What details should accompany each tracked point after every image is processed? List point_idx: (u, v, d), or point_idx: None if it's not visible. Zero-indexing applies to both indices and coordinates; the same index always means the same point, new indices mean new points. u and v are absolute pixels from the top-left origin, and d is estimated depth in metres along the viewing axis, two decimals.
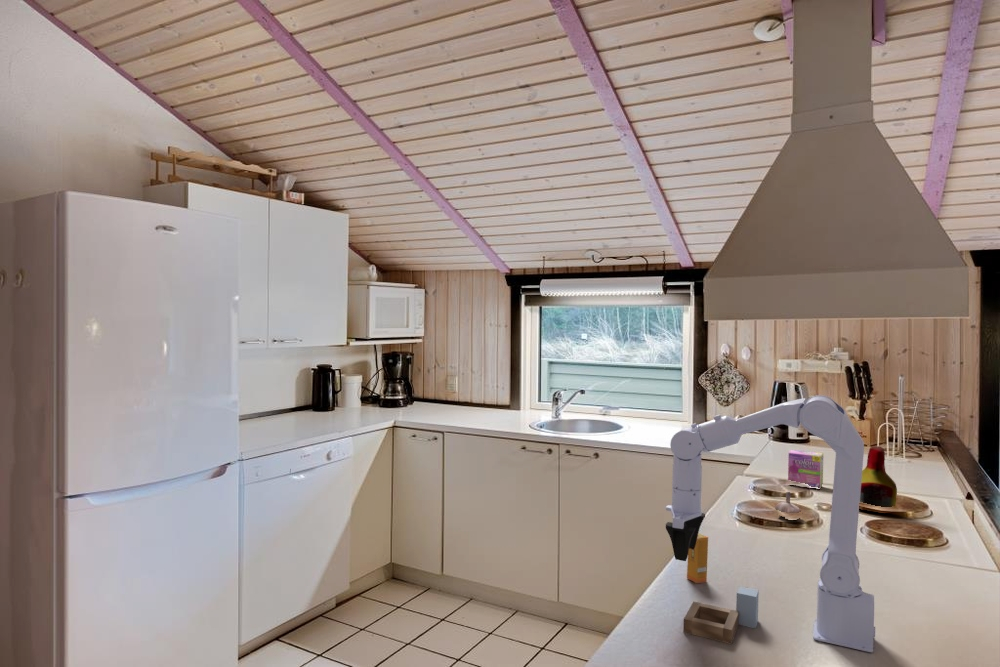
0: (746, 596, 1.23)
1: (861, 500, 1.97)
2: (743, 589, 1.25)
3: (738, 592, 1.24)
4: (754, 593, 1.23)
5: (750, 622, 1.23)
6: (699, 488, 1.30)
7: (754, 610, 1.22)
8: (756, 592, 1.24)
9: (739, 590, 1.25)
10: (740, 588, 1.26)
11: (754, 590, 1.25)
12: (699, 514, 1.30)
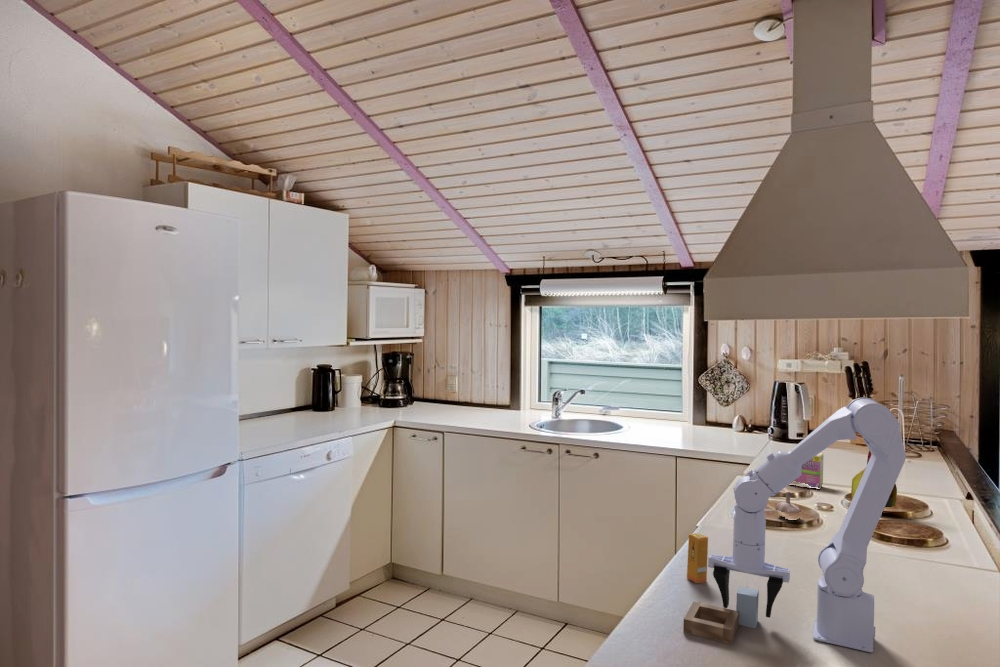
0: (746, 596, 1.23)
1: None
2: (743, 589, 1.25)
3: (738, 592, 1.24)
4: (754, 593, 1.23)
5: (750, 622, 1.23)
6: (764, 541, 1.23)
7: (754, 610, 1.22)
8: (756, 592, 1.24)
9: (739, 590, 1.25)
10: (740, 588, 1.26)
11: (754, 590, 1.25)
12: (740, 569, 1.22)
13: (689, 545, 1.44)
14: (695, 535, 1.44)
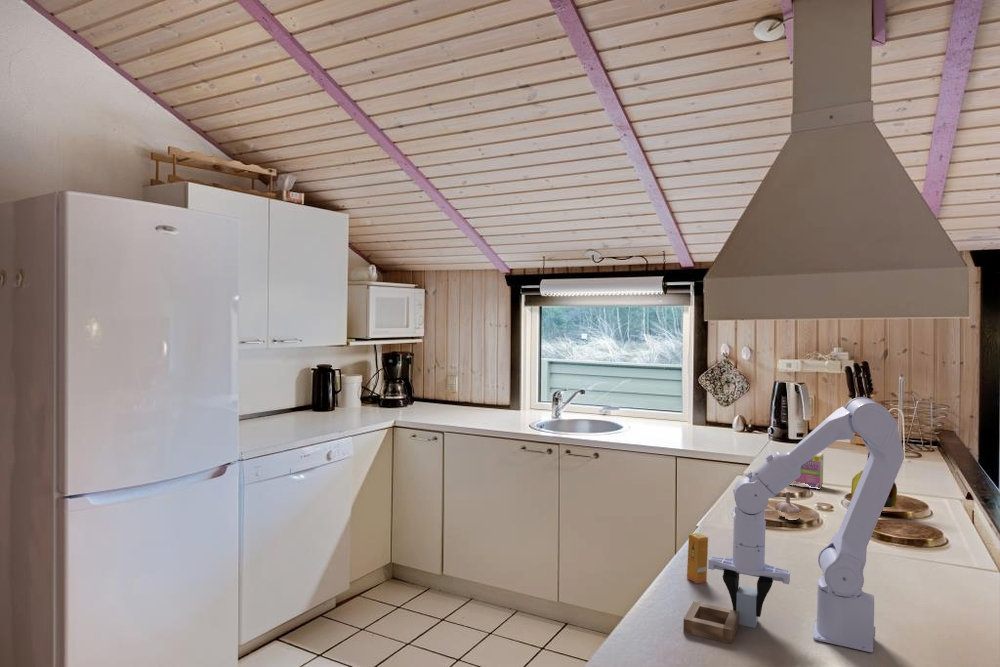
0: (746, 595, 1.23)
1: None
2: (743, 589, 1.25)
3: (738, 592, 1.24)
4: (754, 593, 1.23)
5: (750, 622, 1.23)
6: (764, 543, 1.23)
7: (754, 610, 1.22)
8: (756, 592, 1.24)
9: (739, 590, 1.25)
10: (740, 588, 1.26)
11: (754, 590, 1.25)
12: (740, 570, 1.22)
13: (689, 545, 1.44)
14: (695, 535, 1.44)
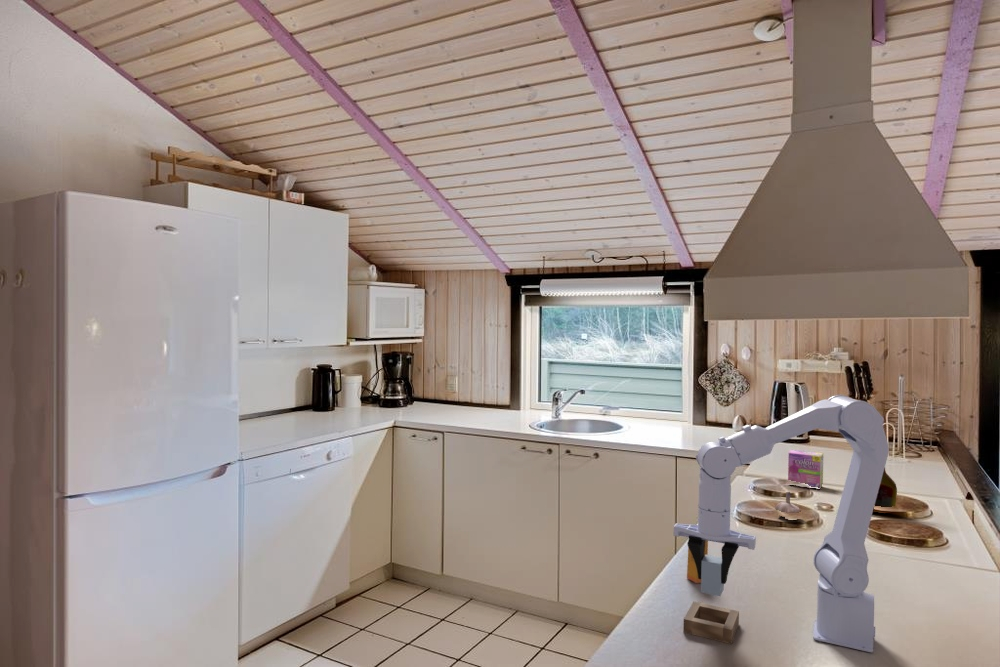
0: (711, 563, 1.20)
1: None
2: (709, 557, 1.23)
3: (703, 560, 1.21)
4: (719, 561, 1.21)
5: (715, 590, 1.20)
6: None
7: (719, 578, 1.19)
8: (721, 560, 1.21)
9: (704, 558, 1.22)
10: (706, 556, 1.23)
11: (720, 558, 1.22)
12: (704, 536, 1.19)
13: None
14: None
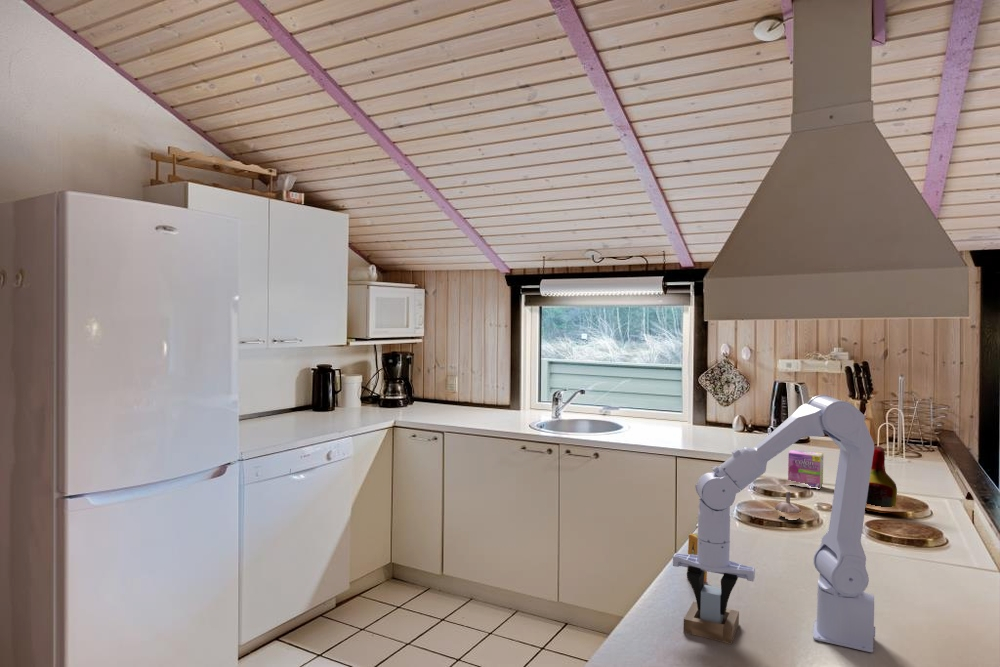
0: (710, 594, 1.20)
1: None
2: (708, 587, 1.23)
3: (702, 591, 1.21)
4: (718, 592, 1.21)
5: (714, 621, 1.20)
6: (729, 538, 1.20)
7: (718, 609, 1.20)
8: None
9: (704, 589, 1.22)
10: (705, 586, 1.23)
11: (719, 589, 1.22)
12: (704, 567, 1.20)
13: (689, 545, 1.44)
14: (695, 535, 1.44)
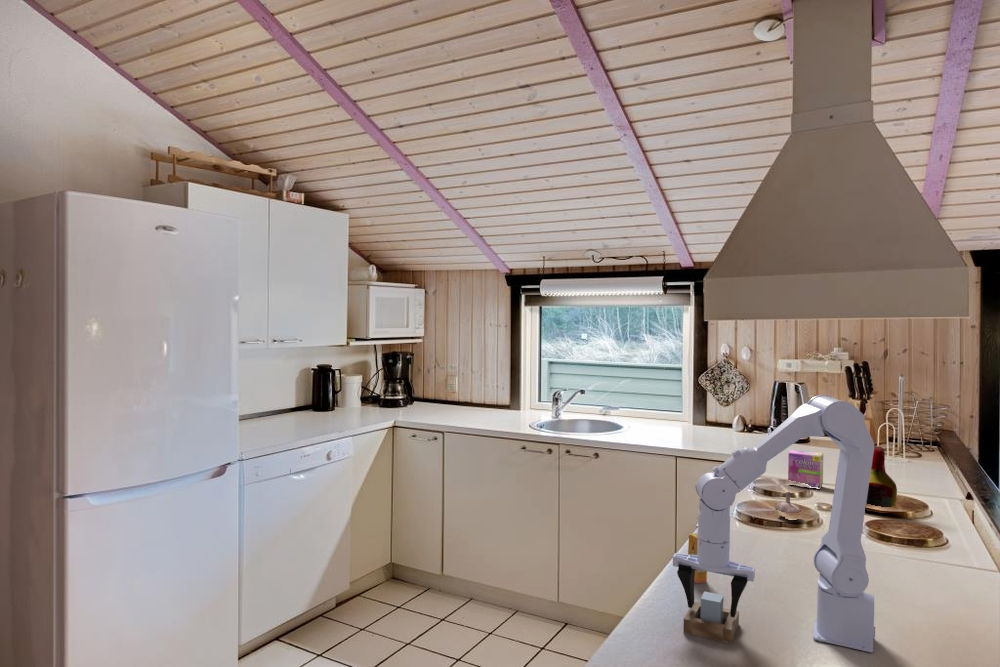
0: (710, 601, 1.20)
1: None
2: (708, 594, 1.23)
3: (702, 598, 1.21)
4: (718, 599, 1.21)
5: None
6: (729, 538, 1.20)
7: (718, 616, 1.20)
8: (721, 597, 1.21)
9: (703, 595, 1.22)
10: (705, 593, 1.23)
11: (719, 595, 1.22)
12: (704, 567, 1.20)
13: (689, 545, 1.44)
14: (695, 535, 1.44)
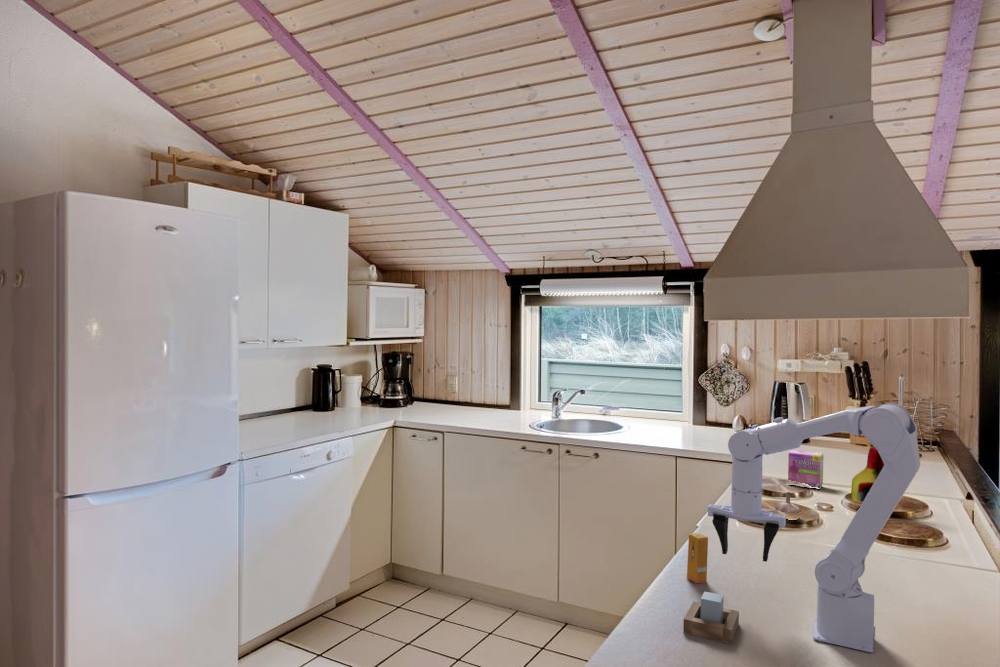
0: (710, 601, 1.20)
1: (861, 500, 1.97)
2: (708, 594, 1.23)
3: (702, 598, 1.21)
4: (718, 599, 1.21)
5: None
6: (758, 490, 1.28)
7: (718, 616, 1.20)
8: (721, 597, 1.22)
9: (704, 595, 1.22)
10: (705, 593, 1.23)
11: (719, 595, 1.22)
12: (738, 515, 1.28)
13: (689, 545, 1.44)
14: (695, 535, 1.44)
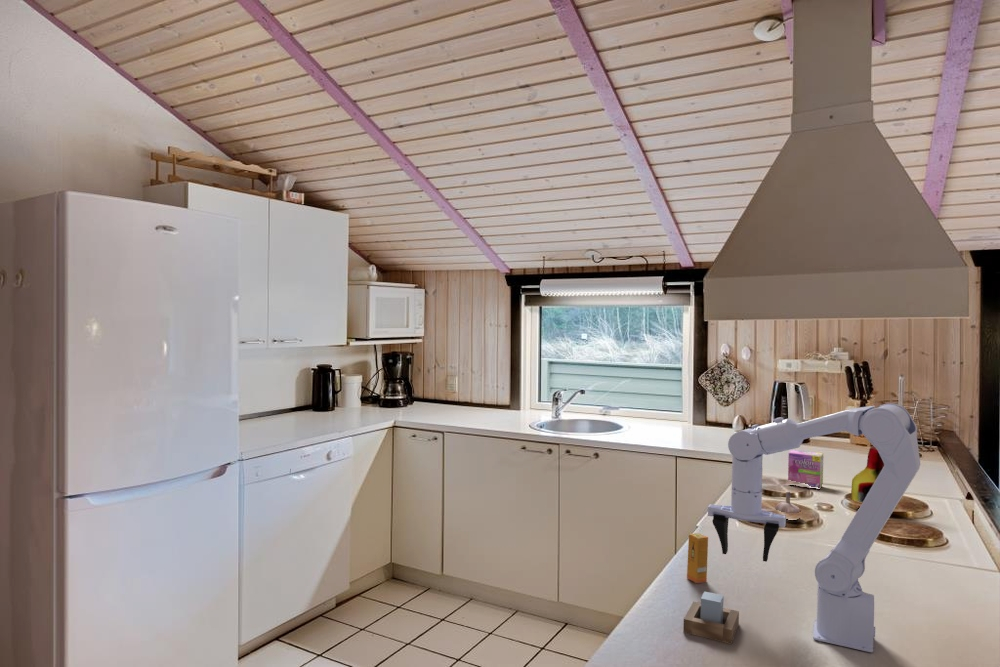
0: (710, 601, 1.20)
1: (861, 500, 1.97)
2: (708, 594, 1.23)
3: (702, 597, 1.21)
4: (718, 599, 1.21)
5: None
6: (758, 490, 1.28)
7: (718, 616, 1.20)
8: (721, 597, 1.22)
9: (704, 595, 1.22)
10: (705, 593, 1.23)
11: (719, 595, 1.22)
12: (738, 515, 1.28)
13: (689, 545, 1.44)
14: (695, 535, 1.44)
